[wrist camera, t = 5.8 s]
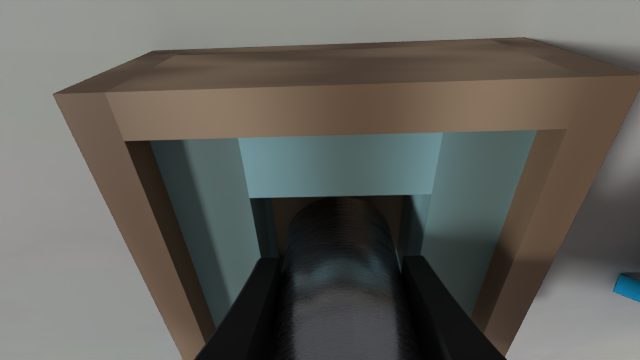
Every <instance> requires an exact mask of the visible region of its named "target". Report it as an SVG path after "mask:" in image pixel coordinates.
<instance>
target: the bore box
mask: <svg viewBox="0 0 640 360" xmlns="http://www.w3.org/2000/svg"><path fill="white" fill-rule="evenodd" d="M639 89H640V73H638V72H635V71H631V70H628V69H625V68H622V67H618V66H615V65H612V64H609V63H605V62H602V61H599V60H596V59H592V58H589V57H586V56H582V55H579V54H576V53H573V52H569V51H566V50H563V49H560V48H556V47H553V46H550V45H547V44H543V43H540V42H537V41H534V40H530V39H527V38H524V37H522V38H494V39H467V40H439V41H411V42H383V43H355V44H328V45H300V46H272V47H244V48H216V49H188V50H161V51H152V52H149V53H147V54H145V55H142V56H140V57H138V58H135V59H133V60H131V61H128V62H126V63H124V64H121V65H119V66H117V67H114V68H112V69H110V70H107V71H105V72H103V73H100V74H98V75H96V76H93V77H91V78H89V79H86V80H84V81H82V82H80V83H77V84H75V85H73V86H70V87H68V88H66V89H63V90H61V91H59V92H56V93H54V94H53V96H54V98H55V100H56V102H57V104H58V106H59V108H60V110H61V112H62V114H63V116H64V118H65V120H66V122H67V125H68V127H69V129H70V131H71V133H72V135H73V137H74V139H75V141H76V143H77V145H78V147H79V149H80V151H81V153H82V155H83V157H84V159H85V161H86V163H87V165H88V167H89V169H90V171H91V173H92V175H93V177H94V179H95V181H96V184H97V186H98V188H99V190H100V192H101V194H102V196H103V198H104V200H105V202H106V204H107V206H108V208H109V210H110V212H111V214H112V216H113V218H114V220H115V222H116V224H117V226H118V228H119V230H120V232H121V234H122V236H123V238H124V241H125V243H126V245H127V247H128V249H129V251H130V253H131V255H132V257H133V259H134V261H135V263H136V265H137V267H138V269H139V271H140V273H141V275H142V277H143V279H144V281H145V283H146V285H147V287H148V289H149V291H150V293H151V295H152V297H153V300H154V302H155V304H156V306H157V308H158V310H159V312H160V314H161V316H162V318H163V320H164V322H165V324H166V326H167V328H168V330H169V332H170V334H171V336H172V338H173V340H174V342H175V344H176V346H177V348H178V350H179V352H180V354H181V357H182V359H183V360H194V359H195V357H196V356H197V355H198V353H199V352H200V351H201V349H202V348H203V347H204V345H205V344H206V343H207V341H208V340H209V338H210V337H211V335H212V334H213V333H214V331H215V330H216V328H217V327H218V326H219V324H220V323H221V321H222V320H223V318H224V317H225V315H226V314H227V312H228V311H229V309H230V307H231V306H232V304H233V303H234V301H235V300H236V298H237V296H238V295H239V293H240V291H241V290H242V288H243V286H244V285H245V283H246V281H247V279H248V278H249V276H250V274H251V272H252V270H253V268H254V266H255V264H256V262H257V260H259V259H260V258H279V262H280V269H281V275H282V268H283V261H284V254H285V247H286V240H287V233H288V228H289V225H290V223H291V220H292V219H293V217H294V216H295V215H296V214H297V213H298V212H299V211H300V210H301V209H302V208H304V207H305V206H307V205H309V204H311V203H313V202H315V201H318V200H321V199H325V198H331V197H349V198H355V199H359V200H362V201H365V202H367V203H369V204H371V205H372V206H374V207H376V208H377V209H378V210H379V211H380V212H381V213H382V214H383V215H384V216H385V218H386V220H387V221H388V224H389V227H390V231H391V235H392V239H393V243H394V247H395V252H396V256H397V260H398V264H399V268H400V272H401V269H402V262H403V256H415V255H423V256H424V257H425V258H426V260H427V261H428V263H429V264H430V266H431V267H432V269H433V270H434V271H435V273H436V274H437V276H438V277H439V278H440V280H441V281H442V283H443V284H444V285H445V287H446V288H447V289H448V291H449V292H450V293H451V295H452V296H453V297H454V299H455V300H456V301H457V302H458V304H459V305H460V306H461V307H462V309H463V310H464V311H465V312H466V314H467V315H468V316H469V317H470V319H471V320H472V321H473V322H474V323H475V324H476V326H477V327H478V328H479V329H480V330H481V332H482V333H483V334H484V335H485V336H486V337H487V338H488V339H489V341H490V342H491V343H492V344H493V345H494V346H495V347H496V348H497V350H498V351H499V352H500V353H501V354H502V355H503V356H504V357H505V355H506V353H507V352H508V350H509V348H510V346H511V344H512V342H513V340H514V338H515V336H516V334H517V332H518V330H519V328H520V326H521V324H522V322H523V320H524V318H525V316H526V314H527V312H528V310H529V308H530V306H531V304H532V302H533V300H534V298H535V296H536V294H537V292H538V290H539V288H540V286H541V284H542V282H543V280H544V278H545V276H546V274H547V272H548V270H549V268H550V266H551V264H552V262H553V260H554V258H555V256H556V254H557V252H558V250H559V248H560V246H561V244H562V242H563V240H564V238H565V236H566V234H567V232H568V230H569V228H570V226H571V224H572V222H573V220H574V218H575V216H576V214H577V212H578V210H579V208H580V206H581V204H582V202H583V200H584V198H585V196H586V194H587V192H588V190H589V188H590V186H591V184H592V182H593V181H594V179H595V177H596V175H597V173H598V171H599V169H600V167H601V165H602V163H603V161H604V159H605V157H606V155H607V153H608V151H609V149H610V147H611V145H612V143H613V141H614V139H615V137H616V135H617V133H618V131H619V129H620V127H621V125H622V123H623V121H624V119H625V117H626V115H627V113H628V111H629V109H630V107H631V105H632V103H633V101H634V99H635V97H636V95H637V93H638V91H639Z"/></svg>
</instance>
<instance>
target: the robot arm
mask: <svg viewBox="0 0 640 360" xmlns="http://www.w3.org/2000/svg"><path fill="white" fill-rule="evenodd" d="M401 276H402V280H403V284H404V288H405V292H406V296H407V301H408V305H409V309H410V313H411V317H412V321H413V325H414V329H415V333H416V337H417V341H418V345H419V350H420V354H421V358H422V360H507V359H506V358H505V357H504V356H503V355H502V354H501V353H500V352H499V351H498V350H497V348H496V347H495V346H494V345H493V344H492V343H491V342H490V341H489V339H488V338H487V337H486V336H485V335H484V334H483V333H482V332H481V330H480V329H479V328H478V327H477V326H476V324H475V323H474V322H473V321H472V320H471V319H470V317H469V316H468V315H467V314H466V312H465V311H464V310H463V309H462V307H461V306H460V305H459V304H458V302H457V301H456V300H455V299H454V297H453V296H452V295H451V293H450V292H449V291H448V289H447V288H446V287H445V285H444V284H443V283H442V281H441V280H440V278H439V277H438V276H437V274H436V273H435V271H434V270H433V269H432V267H431V266H430V264H429V263H428V261H427V260H426V258H425V257H424V256H423V255H415V256H403V262H402V269H401ZM280 282H281V269H280V262H279V258H260V259H259V260H257V262H256V264H255V266H254V268H253V270H252V272H251V274H250V276H249V278H248V279H247V281H246V283H245V285H244V286H243V288H242V290H241V291H240V293H239V295H238V296H237V298H236V300H235V301H234V303H233V304H232V306H231V307H230V309H229V311H228V312H227V314H226V315H225V317H224V318H223V320H222V321H221V323H220V324H219V326H218V327H217V328H216V330H215V331H214V333H213V334H212V335H211V337H210V338H209V340H208V341H207V343H206V344H205V345H204V347H203V348H202V349H201V351H200V352H199V353H198V355H197V356H196V357H195V359H194V360H270V353H271V346H272V339H273V332H274V325H275V318H276V311H277V304H278V297H279V290H280Z"/></svg>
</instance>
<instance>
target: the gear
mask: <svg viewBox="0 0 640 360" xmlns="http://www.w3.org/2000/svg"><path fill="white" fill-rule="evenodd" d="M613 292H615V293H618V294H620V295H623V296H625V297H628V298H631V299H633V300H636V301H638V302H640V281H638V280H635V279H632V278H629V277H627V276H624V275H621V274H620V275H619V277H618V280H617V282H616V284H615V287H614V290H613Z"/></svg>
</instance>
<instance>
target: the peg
mask: <svg viewBox="0 0 640 360" xmlns="http://www.w3.org/2000/svg"><path fill="white" fill-rule="evenodd" d="M270 360H422V358H421V354H420V350H419V345H418V341H417V337H416V333H415V329H414V325H413V321H412V317H411V313H410V309H409V305H408V301H407V296H406V292H405V288H404V284H403V280H402V276H401V272H400V268H399V264H398V260H397V256H396V252H395V247H394V243H393V239H392V235H391V231H390V227H389V224H388V221H387V220H386V218H385V216H384V215H383V214H382V213H381V212H380V211H379V210H378V209H377V208H376V207H374V206H372V205H371V204H369V203H367V202H365V201H362V200H359V199H355V198H349V197H331V198H325V199H321V200H318V201H315V202H313V203H311V204H309V205H307V206H305V207H304V208H302V209H301V210H300V211H299V212H298V213H297V214H296V215H295V216H294V217H293V219H292V220H291V223H290V225H289V228H288V233H287V240H286V247H285V254H284V261H283V268H282V275H281V282H280V290H279V297H278V304H277V311H276V318H275V325H274V332H273V339H272V346H271V353H270Z"/></svg>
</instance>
